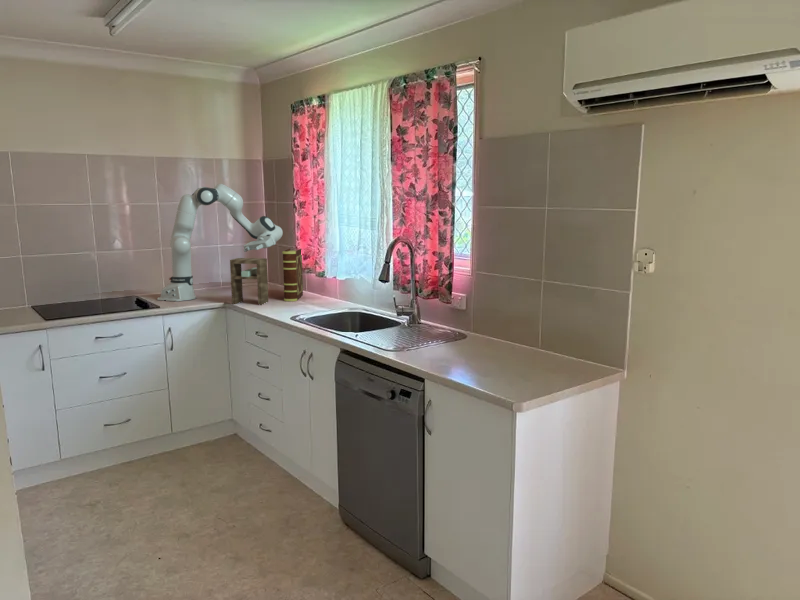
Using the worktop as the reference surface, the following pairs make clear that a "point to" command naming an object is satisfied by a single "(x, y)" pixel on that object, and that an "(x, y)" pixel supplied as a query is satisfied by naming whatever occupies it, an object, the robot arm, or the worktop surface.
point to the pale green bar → (249, 272)
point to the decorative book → (292, 275)
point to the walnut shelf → (260, 276)
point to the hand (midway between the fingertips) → (250, 249)
